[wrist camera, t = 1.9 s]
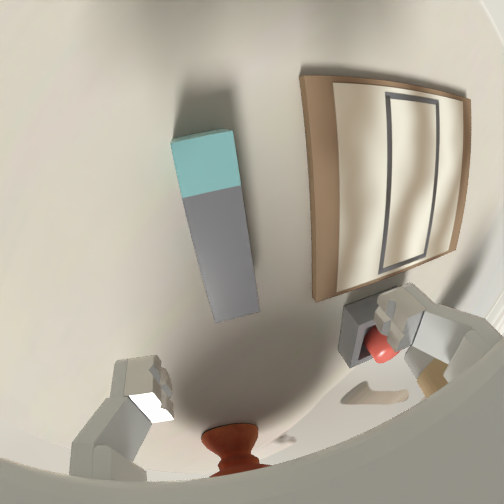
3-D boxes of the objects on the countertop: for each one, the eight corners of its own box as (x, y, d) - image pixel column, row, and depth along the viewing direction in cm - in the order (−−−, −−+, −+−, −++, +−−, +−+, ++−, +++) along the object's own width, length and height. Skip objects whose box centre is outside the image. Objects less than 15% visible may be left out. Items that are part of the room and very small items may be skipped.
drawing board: (312, 297, 24) (316, 303, 23) (299, 76, 15) (305, 75, 14) (451, 246, 27) (456, 250, 26) (465, 98, 18) (471, 99, 17)
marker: (249, 286, 22) (260, 311, 19) (209, 295, 21) (215, 323, 18) (223, 128, 16) (232, 130, 13) (172, 138, 15) (170, 143, 12)
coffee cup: (442, 315, 34) (499, 376, 22) (431, 349, 39) (477, 403, 26) (398, 345, 34) (455, 419, 21) (392, 375, 39) (436, 438, 26)
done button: (360, 351, 27) (372, 368, 24) (366, 327, 25) (380, 344, 22) (389, 338, 27) (401, 353, 25) (396, 313, 25) (410, 329, 23)
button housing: (337, 350, 29) (349, 368, 27) (343, 306, 26) (358, 325, 23) (385, 329, 30) (398, 345, 28) (396, 286, 27) (412, 301, 24)
